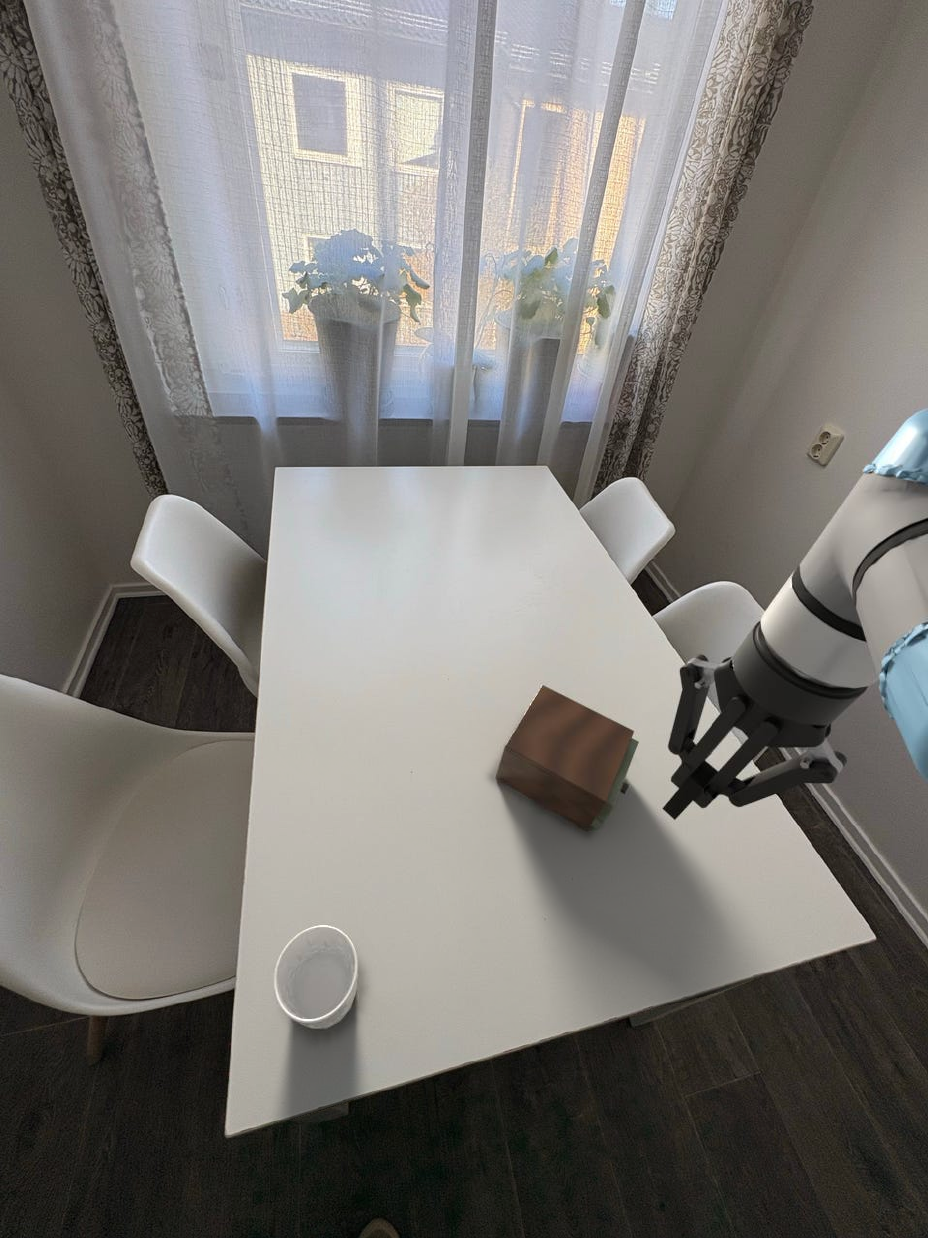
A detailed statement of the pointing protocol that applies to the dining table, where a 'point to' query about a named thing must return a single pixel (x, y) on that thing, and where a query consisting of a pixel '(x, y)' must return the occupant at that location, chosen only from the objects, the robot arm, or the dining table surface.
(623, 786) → the top drawer
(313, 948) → the white cup
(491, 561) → the dining table surface
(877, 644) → the robot arm
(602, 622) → the dining table surface
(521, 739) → the cabinet
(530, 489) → the dining table surface
